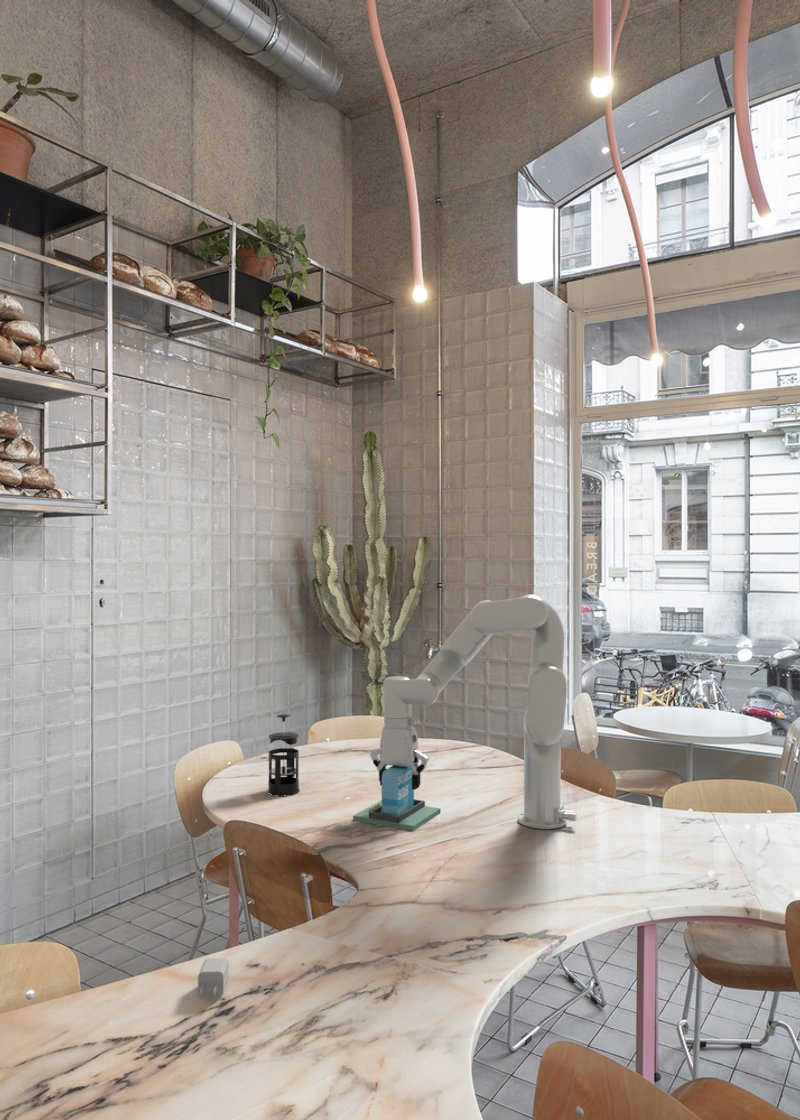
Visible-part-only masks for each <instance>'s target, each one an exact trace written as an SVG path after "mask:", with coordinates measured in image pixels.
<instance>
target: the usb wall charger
mask: <svg viewBox="0 0 800 1120" xmlns="http://www.w3.org/2000/svg"><path fill="white" fill-rule="evenodd" d="M229 965H230V964H229V960H228V958H226V957H207V958H205V959H204V961H203V962H202V965H201V968H200V969H199V971H198V974H197V995H198V997H200V998H221V997H223V995H224V993H225V989H226V987H227V985H228V981H229V975H230V973H229V972H230V971H229Z"/></svg>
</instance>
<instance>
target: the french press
mask: <svg viewBox="0 0 800 1120" xmlns="http://www.w3.org/2000/svg"><path fill="white" fill-rule="evenodd" d="M291 716H292V715H291V714H289V713H288V714H287V713H282V714H278V715H276V717H277V718H282V719H281V722H282V723H283V724H282V732H274V733H270V734H269V735H268V738H269V744H273V743H274V742H276V741H282V747H281V748H275V749H274V748H273V749H270V750H269V751H268V784H267V785H268V786H267V787H268V788H267V789H268V790H267V794H268V793H270V794H272V795H271V796H273V795H278V796H277V797H288V796H287V795H291V796H294V794H295V795H297V794H299V793H300V787H299V785H300V783H299V782H300V780H299V765H300V764H299V761H300V760H299V756H300V755H299V754H300V750H298V749H297V748H294V747H285V744H287V745H290V746H292V745H296V744H297V743H298V738H299V736H300V735H299V733H296V732H292V731H291V732H288V731H286V732H285V722H286V719H287V718H291ZM281 753H282V754H281ZM285 753H286V754H285ZM272 760H274V768H273V767H272V766H273V761H272ZM285 761H286V766H285ZM281 763H282V764H281ZM281 765H282V766H281ZM272 776H274V777H272ZM298 792H299V793H298ZM296 793H297V794H296ZM270 794H269V795H270ZM284 795H286V796H284Z"/></svg>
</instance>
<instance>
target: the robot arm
mask: <svg viewBox="0 0 800 1120" xmlns="http://www.w3.org/2000/svg"><path fill="white" fill-rule="evenodd" d="M463 618H464V617H463ZM521 631H530V634H531V645H530V648H531V649H530V650H531V652H530V661H529V662H530V663H529V670H528V674H527V675H528V676H527V685H528V690H527V691H528V692H527V702H526V703H527V704H526V705H527V706H526V710H525V712H524V714H523V720H522V721H523V723H522V724H523V812H520V813H519V814H518V816H517V821H518V822H519V823H520V824H521V825H522V826H524V827H528V828H532V829H537V830H538V829H539V830H555V829H559V828H563V827H565V826H566V825H567V821H571V822H576V821H577V813H575V811H572V810H566V809H565V806H564V805H565V804H562V803H561V800H562V799H561V785H562V784H561V781H562V780H561V761H562V759H561V757H562V756H561V755H562V754H561V753H562V752H561V747H562V746H561V737H562V735H563V732H564V726H565V717H566V716H565V715H566V705H567V704H566V703H567V693H568V691H567V690H568V686H567V679H566V676H565V674H564V657H565V651H564V650H565V631H564V626H563V623H562V620H561V618H560V616H559V615H558V612H557V611H556V609H555V608H554V607H553V606H552V605H551V604H550V603H549V602H547V601H546V600H544V598H541V597H540V596H538V595H536V594H524V595H523V596H520V597H516V598H510V599H509V598H508V599H501V600H489V599H486V600H485V599H484V600H481V601H479V602H478V603H477V604H475V606H474V607H472V608H471V610H470V611H469V612H468V614H467V615H466V616H465V618H464V619H463V620H462V621H461V622H460V623H459V624H458V626H457V627H456V628H454V630H453V632H452V633H451V634H450V635H449V636H448V638H447V639H446V640H445V641H444V643H443V644H442V646H441V648H440V649H439V651H438V652H436V655H435V656H434V657H433V658H432V659H431V660H430V662H429V663H428V665H426V667H425V668H424V669H423V670H422V671H421V673H420V674H419V675H418V676H417V677H416V678H411V679H410V678H409V677H408V676H401V675H398V676H397V675H394V676H388V677H386V678H385V679H384V680H383V685H382V686H383V687H382V688H383V717H384V718H383V720H384V721H383V725H384V726H383V727H382V729H381V732H380V733H381V734H380V743H379V748H377V749H376V750H374V751H371V752H370V753H369V756H370V759H371V760H372V764H373V765H374V766H375V768H376V770H377V771H378V781H379V786H381V787H382V773H383V772H384V771H385V770H386V769H387V768H386V767H387V766H402V767H409V768H410V769H411V770H412V772H413V773H414V774H413V775H412V789H413V790H414V791H416V790H417V789H419V788H420V785H421V773H422V772H423V771H424V769H426V768H427V764H428V763H429V761H430V758H429V757H428V756H427V755H425V754H424V753H422V752H420V747H419V740H418V738H419V737H418V733H417V730H416V727H415V726H416V725H417V720H416V719H413V705H416V706H421V707H427V706H431V705H432V704H434V703H435V702H436V701H437V700H438V697H439V695H440V694H441V692H442V691H443V690H444V688H445V687H446V686H447V685H448V683H449V682H450V681H451V680H452V679H453V678H454V677H455V675H456V674H457V673H458V672H459V671H460V670H461V669H462V668H463V667H465V666H466V665H468V664H469V663H470V662H471V661H472V660H473V659H474V658H475V657H476V655H478V653H479V651H480V650H481V649H482V648H483V647H484V645H486V643H487V642H488V641H489V640H490V639H491V638H492V636H493V635H497V634H499V635H500V634H508V633H516V632H521ZM378 755H379V758H378ZM420 761H421V763H420V765H419V762H420ZM564 825H565V826H564Z"/></svg>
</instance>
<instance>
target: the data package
mask: <svg viewBox="0 0 800 1120" xmlns="http://www.w3.org/2000/svg"><path fill="white" fill-rule="evenodd" d="M413 774H414V773H413V772H412V770H411V769H410V768H409V767H402V766H393V765H391V766H390V767H388V768H386V770H385V771H384V772H383V773H382V786H381V800H382V814H388V815H394V816H399V815H400V814H402V813H403V812H405V811H407V810H408V809H410V808H412V807H413V804H414V799H415V790H413V789H412V775H413Z"/></svg>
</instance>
